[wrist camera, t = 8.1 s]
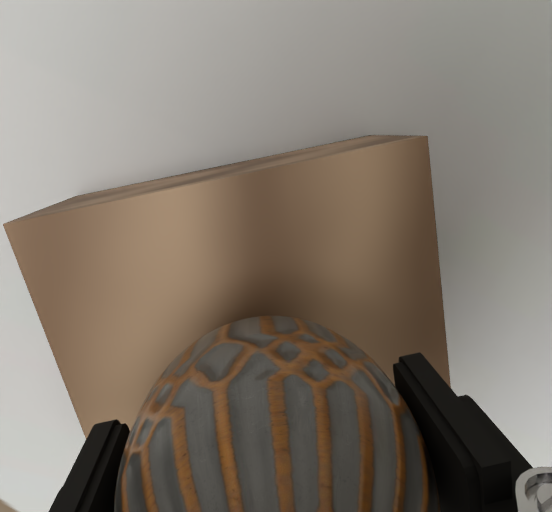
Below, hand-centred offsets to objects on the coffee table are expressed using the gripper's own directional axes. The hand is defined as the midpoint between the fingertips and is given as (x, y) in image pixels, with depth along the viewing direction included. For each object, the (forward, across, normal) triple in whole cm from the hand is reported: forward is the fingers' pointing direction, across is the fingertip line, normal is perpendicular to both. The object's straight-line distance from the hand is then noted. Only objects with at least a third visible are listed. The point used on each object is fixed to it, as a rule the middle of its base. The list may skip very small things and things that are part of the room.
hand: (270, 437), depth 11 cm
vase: (+3, 0, 0) cm, 3 cm away
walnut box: (+10, 0, 0) cm, 10 cm away
